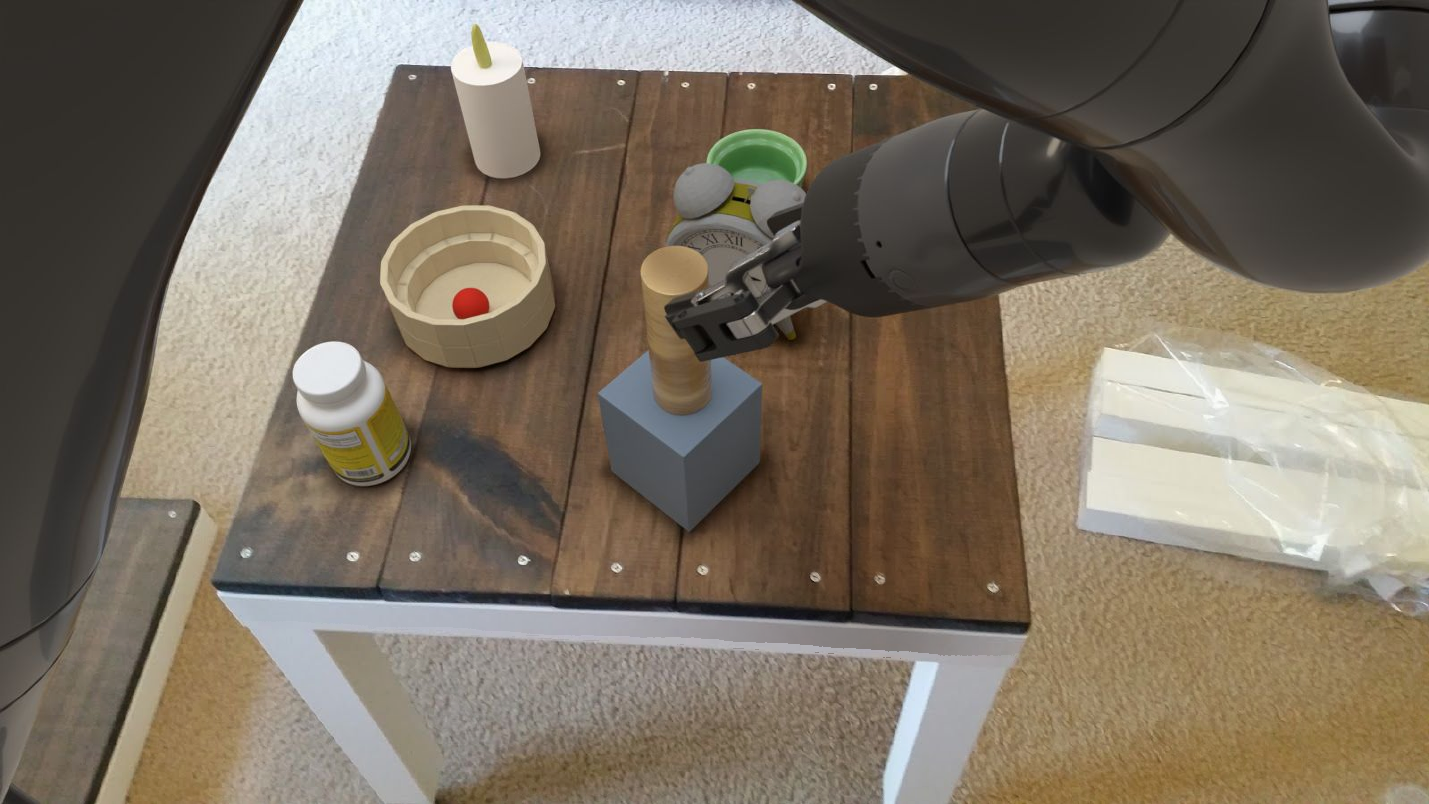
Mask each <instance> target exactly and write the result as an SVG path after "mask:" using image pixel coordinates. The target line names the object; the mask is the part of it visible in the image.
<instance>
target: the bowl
mask: <svg viewBox="0 0 1429 804" xmlns="http://www.w3.org/2000/svg"><path fill="white" fill-rule="evenodd" d="M379 273H380V274H379V284H380V287H381V289H382V292H383V295H384V297H385V299H386V302H387V305H388V307H389V309H390V312H391V314H392V317H393V320H394V322H395V324H396V327H397V329H398V332H399V333H400V335H401V337H402V339H403V341H404V344H405V345H406V346H407V347H408V348H409V349H411V351H413V352H414V353H415V354H417V355H418V356H419V357H420V358H421V359H423V360H424V361H426V362H430V363H433V364H437V365H440V366H442V367H445V368H454V369H455V368H456V369H459V368H460V369H463V368H464V369H477V368H479V369H480V368H483V367H487V366H490V365H494V364H497V363H498V364H499V363H502V362H505V361H508V360H509V359H511V358H513V357H515V356H517V355H518V354H520V353H521V352H524V351H525V350H527V349H529V348H530V347H531V346H532V345H533V344H534V343H535V342H536V341H537V340H538V338H539V337H541V335H543V333H544V332H545V331H546V330H547V329H548V326H549V324H550V321H551V319H552V317H553V313H554V311H555V308H556V299H555V297H556V296H555V287H554V283H553V277H552V273H551V268H550V263H549V258H548V253H547V247H546V243H545V241H544V240H543V238H542V236H541V235H540V233H539V231H538V230H537V228H536V227H535V225H534V224H533V223H531V222H530V221H528V220H527V219H525V218H524V217H522V216H521V215H519V214H518V213H516V212H515V211H511V210H508V209H504V208H501V207H497V206H493V205H469V204H468V205H467V204H465V205H458V206H454V207H449V208H446V209H442V210H437V211H434V212H431V213H430V214H428V215H426V216H424V217H423V218H420V219H418V220H416V221H414V222H412V223H411V224H409V225H408V226H407V227H406V228H405V229H404V230H403V231H401V233H400V234H398V235H397V236H396V237H395V238H394V239H393V240H392V241H391V243H390V244H389V246H388V248H387V250H386V252H385V254H384V255H383V257H382V259H381V261H380V272H379ZM465 288H476V289H479V290H481V291H482V292H483V293H484V294H485V295H486V296H487V298H488V300H489V312H488V313H487V314H483V315H479V316H475V317H471V318H467V319H458V318H457V317H456V316H455V314H454V312H453V308H452V303H453V299H454V297H455V295H456V294H457V293H458V292H459V291H460V290H462V289H465Z"/></svg>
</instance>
